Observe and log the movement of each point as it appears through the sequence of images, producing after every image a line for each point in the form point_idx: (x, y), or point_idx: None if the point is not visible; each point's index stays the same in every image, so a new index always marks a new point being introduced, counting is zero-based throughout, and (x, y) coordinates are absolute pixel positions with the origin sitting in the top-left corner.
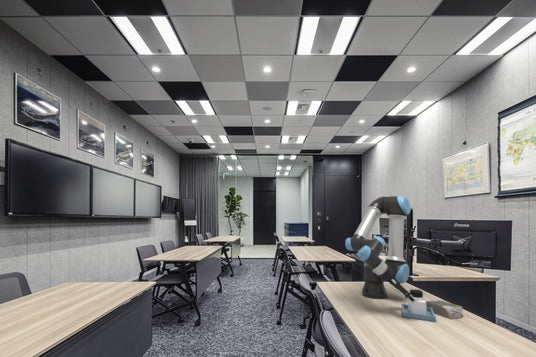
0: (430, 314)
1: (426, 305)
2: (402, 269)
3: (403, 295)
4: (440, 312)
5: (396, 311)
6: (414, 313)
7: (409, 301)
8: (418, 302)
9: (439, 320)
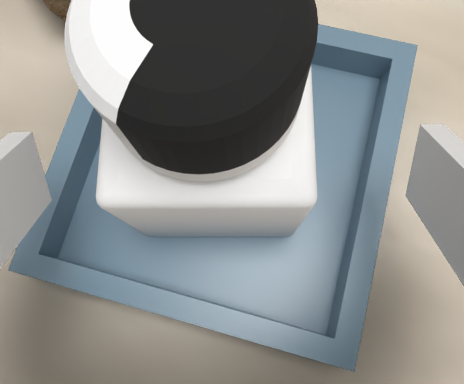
0: None
1: (54, 9)
2: None
3: (12, 245)
4: None
5: (146, 367)
6: (365, 227)
7: (204, 214)
8: (460, 141)
9: (340, 28)
